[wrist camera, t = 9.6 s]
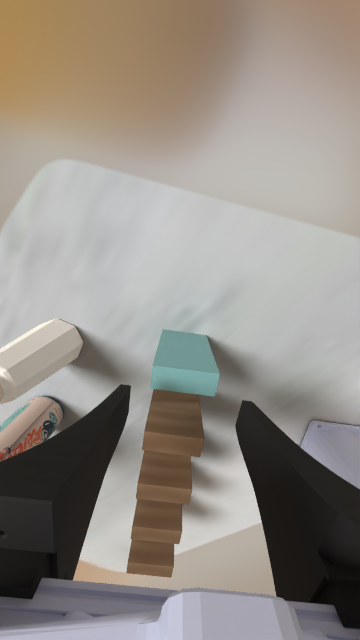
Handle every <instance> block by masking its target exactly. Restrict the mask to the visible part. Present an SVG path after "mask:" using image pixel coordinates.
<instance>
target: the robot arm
mask: <svg viewBox="0 0 360 640" xmlns="http://www.w3.org/2000/svg"><path fill="white" fill-rule="evenodd" d="M130 389H131V386H129V385H122V384H121V385H120V386H119V387H118V388H117V389H116V390H115V391H114V392H112V393H111V394H110V395H109V396H108V397H107V398H106V399H105V400H104V401H103V402H102V403H100V404H99V405H98V406H97V407H96V408H94V409H93V410H92V411H91V412H89V413H88V414H87V415H86V416H84V417H83V418H82V419H80V420H79V421H77V422H76V423H74V424H73V425H71V426H70V427H68V428H67V429H65V430H64V431H62V432H60V433H58V434H57V435H55V436H53V437H52V438H50V439H48V440H46V441H44V442H42V443H40V444H38V445H36V446H34V447H32V448H30V449H28V450H26V451H24V452H22V453H19V454H17V455H15V456H12V457H10V458H8V459H5V460H3V461H1V462H0V640H360V426H353V425H346V424H338V423H331V422H323V421H316V420H313V421H311V423H310V425H309V427H308V429H307V432H306V434H305V436H304V439H303V441H302V443H301V446H300V447H299V446H298V445H297V444H296V443H295V442H294V441H292V440H291V439H290V438H289V437H288V436H287V435H286V434H285V433H284V432H283V431H281V430H280V429H279V428H278V427H277V426H276V425H275V424H274V423H273V422H272V421H271V420H270V419H269V418H268V417H267V416H266V415H265V414H264V413H263V412H262V411H261V410H260V409H259V408H258V407H257V406H256V405H255V404H254V403H253V402H251V401H242V404H241V408H240V411H239V415H238V418H237V422H236V425H235V427H236V432H237V437H238V441H239V445H240V448H241V451H242V454H243V457H244V460H245V463H246V466H247V469H248V472H249V475H250V478H251V481H252V484H253V488H254V491H255V495H256V499H257V503H258V507H259V511H260V516H261V520H262V525H263V529H264V534H265V538H266V543H267V548H268V553H269V558H270V563H271V568H272V573H273V579H274V585H275V591H276V596H277V597H276V596H272V595H266V594H256V593H245V592H235V591H225V590H213V589H203V588H190V589H182V590H180V591H178V590H168V589H157V588H147V587H136V586H125V585H115V584H104V583H94V582H83V581H73V577H74V574H75V570H76V567H77V564H78V560H79V557H80V553H81V550H82V547H83V543H84V540H85V537H86V533H87V530H88V527H89V523H90V520H91V517H92V514H93V510H94V507H95V504H96V501H97V498H98V494H99V491H100V488H101V485H102V482H103V479H104V476H105V473H106V471H107V468H108V465H109V463H110V460H111V458H112V456H113V453H114V451H115V448H116V446H117V444H118V441H119V439H120V436H121V434H122V432H123V429H124V426H125V423H126V419H127V416H128V412H129V401H130Z"/></svg>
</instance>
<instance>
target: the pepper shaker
mask: <svg viewBox="0 0 360 640" xmlns="http://www.w3.org/2000/svg"><path fill="white" fill-rule="evenodd" d="M83 343H84V342H83V340H82V338H81V337H80V335H79V333H78V331H77V329H76V327H75V326H73V325H71V324H69V323H66V322H64V321H62V320H59V319H54V320H51V321H48V322H45V323H43V324H40V325H38V326H37V327H35V328H34V329H32V330H30V331H29V332H27V333H25V334H24V335H22V336H20V337H19V338H17V339H16V340H14V341H12V342H11V343H9V344H7V345H6V346H4V347H2V348H1V349H0V404H3V403H6V402H9V401H12V400H14V399H16V398H18V397H19V396H21V395H23V394H24V393H26V392H27V391H29V390H30V389H32V388H33V387H35V386H36V385H38V384H39V383H41V382H42V381H44V380H45V379H46V378H48V377H49V376H51V375H52V374H54V373H55V372H57V371H58V370H60V369H61V368H63V367H64V366H66V365H67V364H69V363H70V362H72V361H73V360H75V359H76V358H78V356H79V353H80V351H81V348H82V345H83Z"/></svg>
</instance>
